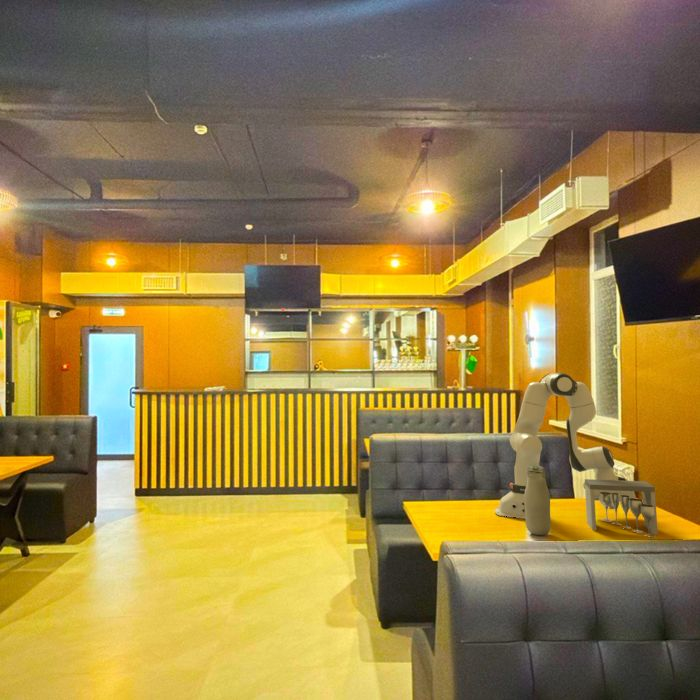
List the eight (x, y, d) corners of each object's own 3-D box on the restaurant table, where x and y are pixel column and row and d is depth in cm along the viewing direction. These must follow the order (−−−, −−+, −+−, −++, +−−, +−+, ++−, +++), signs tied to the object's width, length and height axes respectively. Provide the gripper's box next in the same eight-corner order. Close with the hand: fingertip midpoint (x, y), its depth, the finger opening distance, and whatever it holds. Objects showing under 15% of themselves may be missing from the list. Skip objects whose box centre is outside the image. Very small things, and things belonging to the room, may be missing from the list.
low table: (592, 530, 196) (589, 484, 197) (587, 522, 207) (584, 479, 209) (657, 534, 189) (654, 487, 190) (648, 526, 200) (645, 481, 202)
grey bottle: (526, 537, 189) (522, 467, 191) (526, 529, 198) (523, 463, 200) (552, 539, 185) (548, 468, 187) (551, 531, 195) (547, 464, 197)
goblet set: (660, 537, 186) (657, 503, 187) (647, 538, 184) (645, 504, 186) (607, 518, 213) (606, 488, 214) (597, 519, 212) (595, 489, 213)
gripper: (583, 477, 221) (588, 503, 211) (631, 479, 215) (639, 506, 205) (582, 485, 225) (587, 511, 215) (629, 487, 219) (637, 513, 209)
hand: (613, 508), depth 210 cm, fingers closed
